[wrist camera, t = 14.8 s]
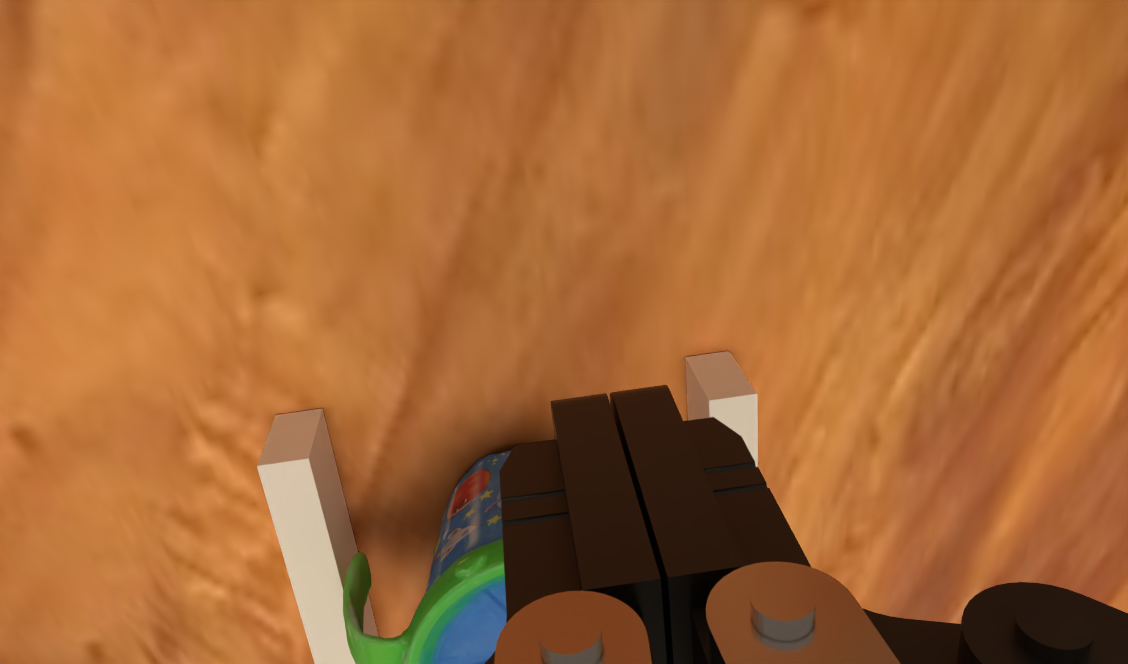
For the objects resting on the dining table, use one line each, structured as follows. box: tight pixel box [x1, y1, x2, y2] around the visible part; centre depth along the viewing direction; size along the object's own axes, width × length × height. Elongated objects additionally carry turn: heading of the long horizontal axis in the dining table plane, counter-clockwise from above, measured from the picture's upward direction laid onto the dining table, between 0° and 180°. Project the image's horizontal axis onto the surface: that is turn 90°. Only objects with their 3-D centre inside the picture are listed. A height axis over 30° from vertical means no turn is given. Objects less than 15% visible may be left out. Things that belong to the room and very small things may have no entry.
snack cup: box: [343, 450, 512, 664], centre depth 37 cm, size 16×10×10 cm
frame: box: [257, 351, 758, 664], centre depth 40 cm, size 20×19×4 cm
